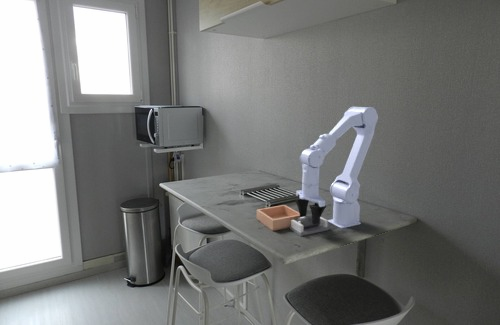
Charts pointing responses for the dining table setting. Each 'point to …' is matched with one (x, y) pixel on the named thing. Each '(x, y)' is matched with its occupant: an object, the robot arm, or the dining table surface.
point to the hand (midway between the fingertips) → (309, 220)
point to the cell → (307, 221)
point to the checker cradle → (309, 230)
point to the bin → (277, 217)
